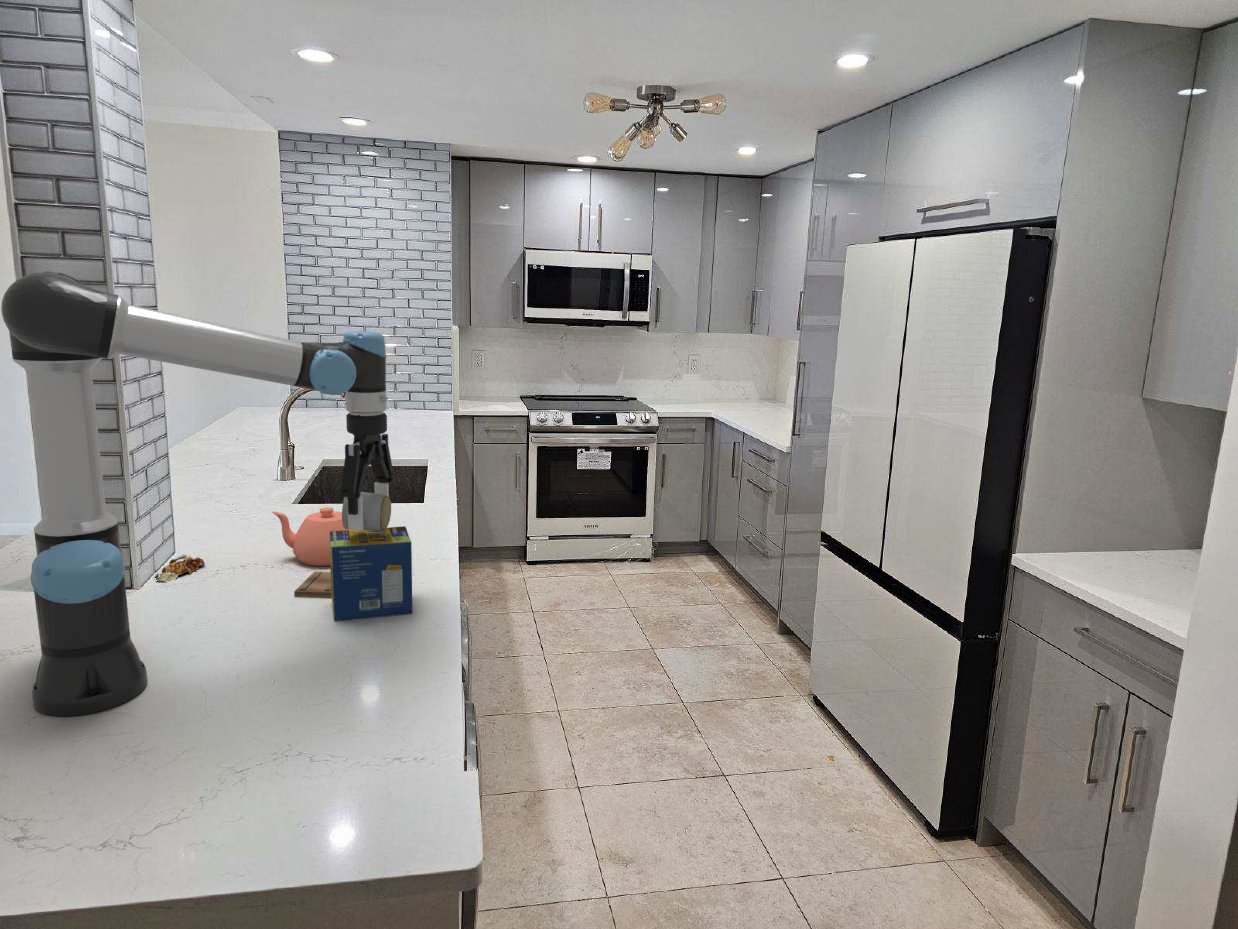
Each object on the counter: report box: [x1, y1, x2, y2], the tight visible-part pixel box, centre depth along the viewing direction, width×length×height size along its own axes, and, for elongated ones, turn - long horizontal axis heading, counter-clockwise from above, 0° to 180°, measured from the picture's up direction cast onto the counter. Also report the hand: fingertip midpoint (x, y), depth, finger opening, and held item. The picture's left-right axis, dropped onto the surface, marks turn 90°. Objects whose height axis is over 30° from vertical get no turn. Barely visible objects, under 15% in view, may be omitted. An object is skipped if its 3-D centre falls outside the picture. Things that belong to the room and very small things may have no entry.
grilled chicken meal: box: [154, 553, 206, 583], centre depth 178 cm, size 7×12×4 cm, turn 179°
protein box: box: [330, 525, 413, 622], centre depth 162 cm, size 10×15×16 cm
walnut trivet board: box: [293, 571, 332, 599], centre depth 173 cm, size 12×8×2 cm, turn 1°
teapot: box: [271, 506, 348, 567], centre depth 190 cm, size 22×16×12 cm
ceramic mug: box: [341, 491, 392, 531], centre depth 159 cm, size 11×8×8 cm
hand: (369, 521), depth 160 cm, fingers closed on ceramic mug, 11 cm apart
